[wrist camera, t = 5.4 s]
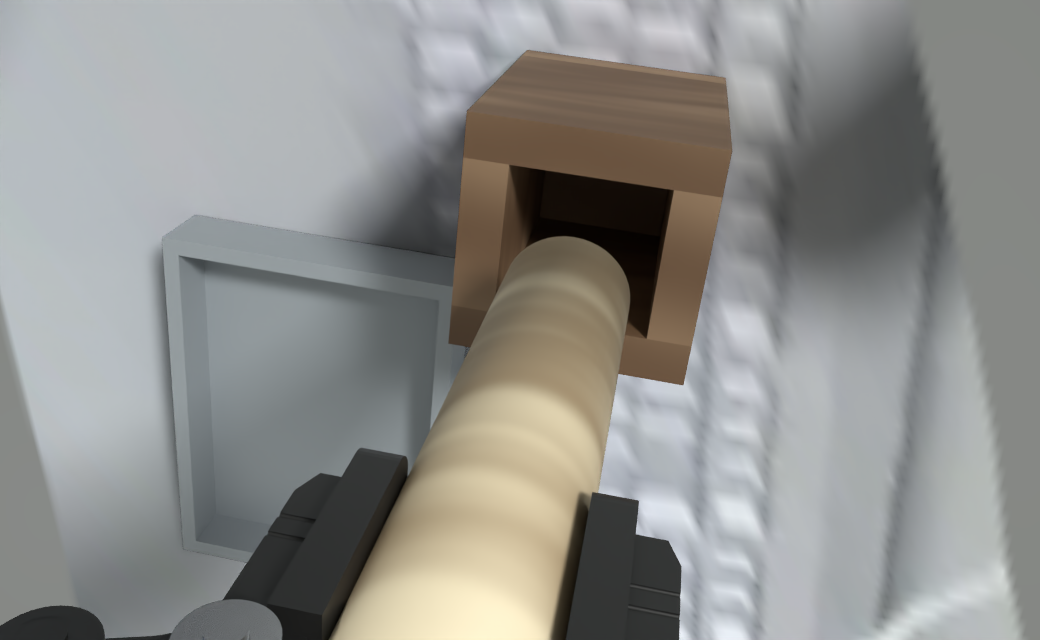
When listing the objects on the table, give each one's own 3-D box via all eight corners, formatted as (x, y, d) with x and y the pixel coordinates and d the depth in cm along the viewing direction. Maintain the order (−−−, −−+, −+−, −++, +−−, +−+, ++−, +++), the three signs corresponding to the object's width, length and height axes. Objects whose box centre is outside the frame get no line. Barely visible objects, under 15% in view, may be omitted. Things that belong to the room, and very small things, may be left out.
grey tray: (194, 214, 37) (162, 237, 34) (472, 261, 35) (457, 287, 33) (210, 514, 43) (183, 549, 41) (446, 562, 42) (431, 601, 40)
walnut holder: (527, 49, 32) (466, 110, 24) (725, 78, 31) (732, 150, 23) (507, 233, 35) (448, 343, 27) (688, 263, 34) (683, 385, 26)
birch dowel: (509, 227, 22) (250, 710, 9) (639, 247, 21) (549, 778, 9) (497, 342, 23) (256, 898, 11) (619, 362, 23) (518, 963, 10)
